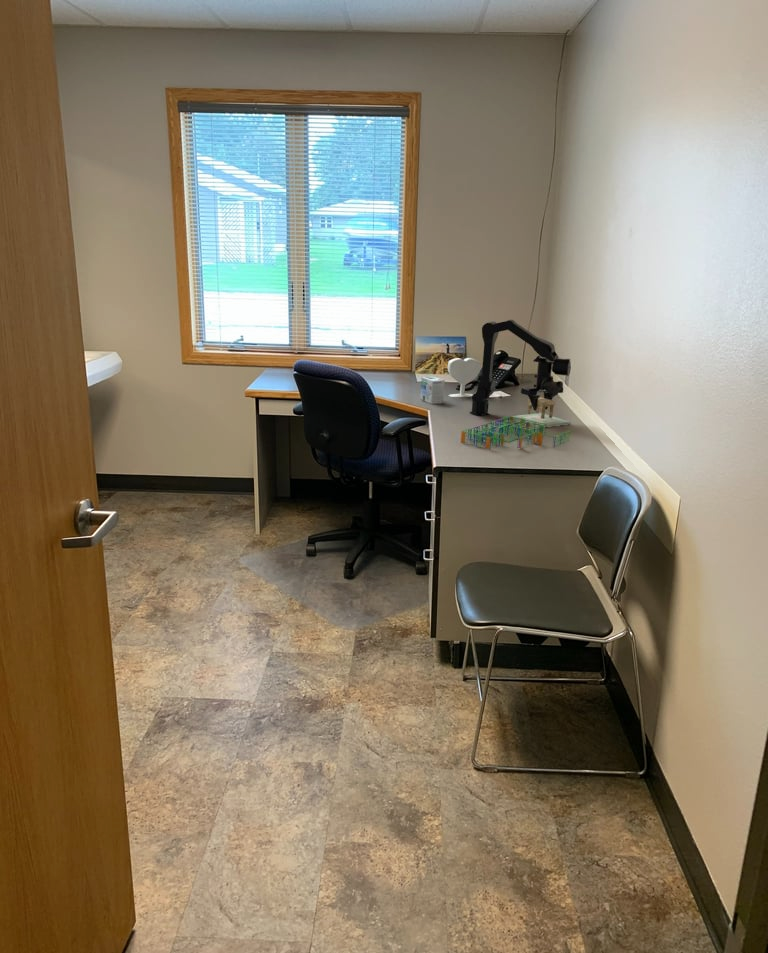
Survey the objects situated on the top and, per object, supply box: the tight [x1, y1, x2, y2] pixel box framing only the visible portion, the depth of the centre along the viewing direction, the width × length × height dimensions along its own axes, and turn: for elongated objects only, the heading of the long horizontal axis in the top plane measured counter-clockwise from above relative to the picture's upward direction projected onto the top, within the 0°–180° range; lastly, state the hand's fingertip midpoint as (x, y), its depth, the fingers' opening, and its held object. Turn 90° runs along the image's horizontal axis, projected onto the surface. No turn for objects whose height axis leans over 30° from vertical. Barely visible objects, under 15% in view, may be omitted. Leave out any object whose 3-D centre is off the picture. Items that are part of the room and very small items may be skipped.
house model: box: [460, 415, 571, 450], centre depth 286 cm, size 35×30×5 cm
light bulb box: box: [419, 375, 445, 405], centre depth 348 cm, size 11×7×11 cm, turn 27°
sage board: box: [508, 412, 571, 429], centre depth 317 cm, size 18×18×1 cm
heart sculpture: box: [447, 357, 481, 398], centre depth 361 cm, size 16×5×18 cm, turn 105°
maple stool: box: [527, 396, 556, 419], centre depth 315 cm, size 10×6×7 cm, turn 30°
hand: (540, 409), depth 315 cm, fingers closed on maple stool, 6 cm apart
